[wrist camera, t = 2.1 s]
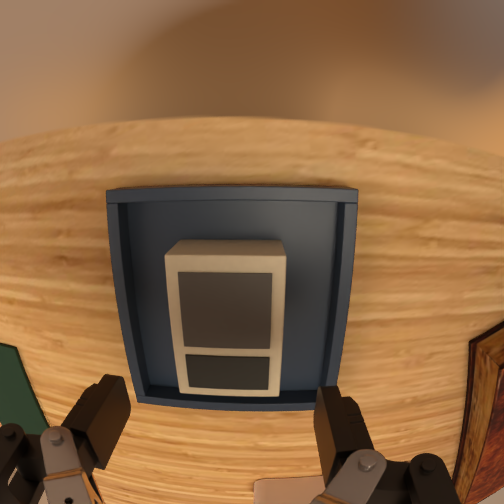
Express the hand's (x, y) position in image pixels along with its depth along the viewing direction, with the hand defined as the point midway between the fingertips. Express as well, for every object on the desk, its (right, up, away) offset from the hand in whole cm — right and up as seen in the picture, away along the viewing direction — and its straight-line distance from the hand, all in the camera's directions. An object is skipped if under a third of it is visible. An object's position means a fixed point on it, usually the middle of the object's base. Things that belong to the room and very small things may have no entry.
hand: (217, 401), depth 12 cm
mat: (-26, -13, +14) cm, 32 cm away
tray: (0, +3, +9) cm, 10 cm away
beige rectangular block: (0, +2, +9) cm, 9 cm away
